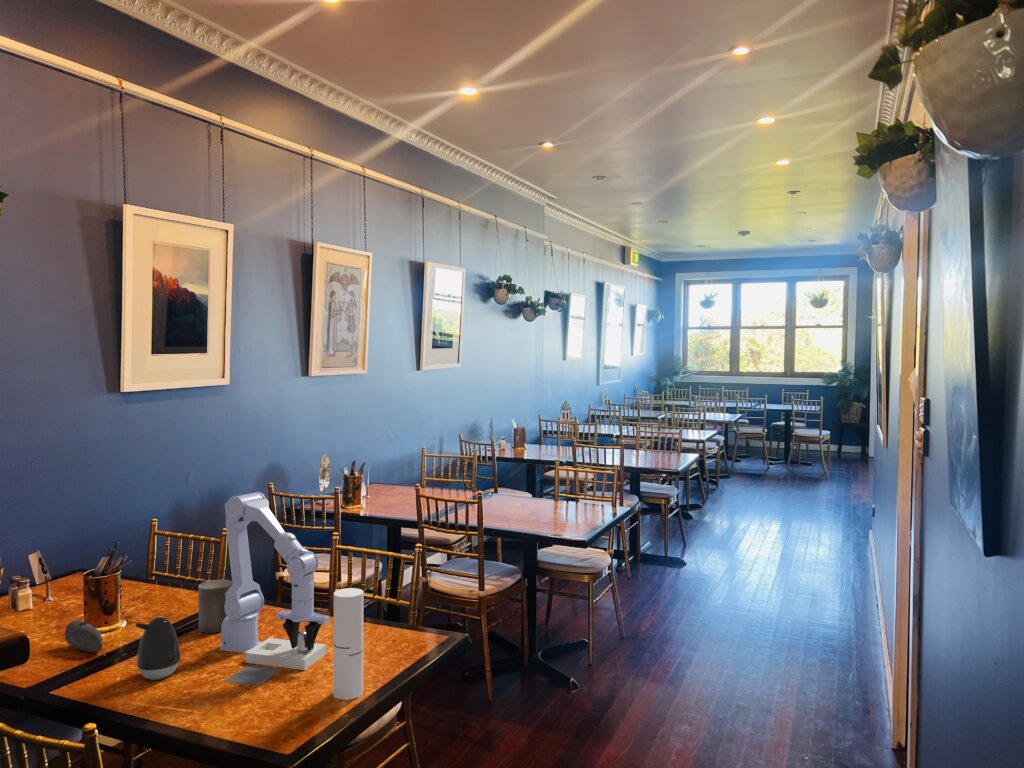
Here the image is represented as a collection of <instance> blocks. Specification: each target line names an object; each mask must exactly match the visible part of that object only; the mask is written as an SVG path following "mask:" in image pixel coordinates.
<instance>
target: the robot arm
mask: <svg viewBox="0 0 1024 768" xmlns="http://www.w3.org/2000/svg"><path fill="white" fill-rule="evenodd" d="M269 505H270V501H269V500H268V499H267V498H266V495H265V494H263V493H262V492H261V491H254V492H251V493H247V494H246V493H245V494H241V495H233V496H231V497H230V498H229V499H228V500H227V501H226V502H225V504H224V511H225V530H226V539H227V547H228V548H227V549H228V554H229V555H228V556H229V564H230V574H231V582H232V586H231V587H230V588H229V590H228V591H227V592H226V594H225V596H226V601H225V606H224V609H225V613H226V615H227V617H226V618H225V619H224V620H223V623H222V627H221V632H220V633H221V635H220V643H221V644H220V647H219V650H220V651H226V652H232V653H233V652H235V653H242V654H245V653H246V652H247V651H249V650H251V649H252V648H254V647H255V646H257V645H259V644H260V643H262V642H263V641H260V640H259V632H258V631H259V615H260V613H261V610H262V609H263V608H264V605H265V598H264V595H263V592H262V589H261V586H260V584H259V583H257V582H255V581H254V579H253V572H252V570H253V569H252V561H251V554H250V552H251V551H250V545H249V543H250V542H249V537H248V536H249V535H248V527H247V526H248V525H249V524H250V523H251V522H257V523H258V524H259V525H260V526H261V527H262V528H263V530H265V532H266V533H267V534H268V535H269V536H270V537H271V538H272V539H273V540H274V543H273V547H274V549H275V550H276V552H278V554H279V556H281V557H282V559H283V560H284V561H285V563H286V564H287V566H286V570H287V573H288V575H289V578H290V579H289V582H291V583H290V584H291V610H281V611H279V612H277V613H276V614H277V617H276V620H277V621H283V620H284V623H283V624H282V627H283V629H284V631H285V632H286V634H287V637H288V639H289V640H290V643H291V647H292V648H295V647H297V632H298V631H300V624H301V622H303V623H308V624H306V625H305V626H304V629H305V631H306V635H307V650H311V649H313V648H314V643H316V639H317V636H318V633H319V631H320V629H321V627H322V626H326V625H328V624H329V615H326V614H325V615H324V614H322V613H318V612H315V611H314V608H315V607H314V603H315V602H314V599H315V597H314V595H315V594H314V592H315V589H314V587H315V582H314V581H315V578H314V577H315V574H314V573H315V572H316V571H317V570H318V567H319V559H318V557H317V556H316V554H315V552H313V551H309V550H308V549H305V548H304V547H303V545H302V544H301V543H300V541H298V540H297V537H296V536H295V534H293V533H291V532H286V531H285V529H284V528H283V527H282V526H281V524H280V522H279V521H278V519H277V518H276V517H275V515H274V514H273V512H272V511H271V509H270V508H269V507H270V506H269Z"/></svg>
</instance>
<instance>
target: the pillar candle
mask: <svg viewBox="0 0 1024 768" xmlns="http://www.w3.org/2000/svg"><path fill="white" fill-rule="evenodd" d="M232 584H233V583H232V580H230V579H214V580H208V581H205V582H201V583H200V584H198V587H197V589H198V631H199V633H201V632H204V633H203V634H217V633H216V632H218V633H221V627H222V623H223V620H224V619H225V618H226V617H227V615H226V613H225V609H224V606H225V601H226V596H225V594H226V592H227V591H228V590H229V588H230V587H231V586H232Z"/></svg>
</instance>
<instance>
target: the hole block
mask: <svg viewBox="0 0 1024 768" xmlns="http://www.w3.org/2000/svg"><path fill="white" fill-rule="evenodd" d="M261 642H262V643H260V644H259V645H257V646H255V647H254V648H252V649H251V650H249V651H247V652H246V653H244V655H245V657H244V659H245V661H244V662H245V663H247V664H254V665H255V664H256V665H263V666H269V667H278V668H285V669H286V668H287V669H294V670H302V671H307V669H308V668H310V667H312V665H314V664H315V663H316V662H317V661H319V660H320V659H322V658H323V657H324V656H325V655H326V654H327V644H323V643H316V642H315V643H314V648H313V649H311V650H308V653H307V654H306V655H304V654H297V647H295V648H292V647H291V643H290V640H288V639H282V638H281V639H280V638H272V637H269V638H267V639H265V640H263V641H261Z"/></svg>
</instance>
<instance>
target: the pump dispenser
mask: <svg viewBox="0 0 1024 768" xmlns="http://www.w3.org/2000/svg"><path fill="white" fill-rule="evenodd" d="M135 627H136V628H139V629H141V630H144V631H143V633H142V635H141V638H140V642H139V644H138V647H137V649H138V650H137V655H136V667H137V669H138V671H139V673H140V675H141V676H142V677H144V678H145V679H147V680H152V681H154V680H155V681H157V680H163V679H165V678H168V677H170V675H171V676H172V674H173V673H174V672H175V671H176V670H177V668H178V665H179V663H180V660H181V658H182V657H181V647H180V642H179V638H178V636H177V633H176V630H175V628H174V626H173V624H172V623H171V621H170V620H169V619H168V618H166V617H165V616H158V617H154V618H152V619H151V620H150V621H149V622H148V623H143V622H136V624H135Z"/></svg>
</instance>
